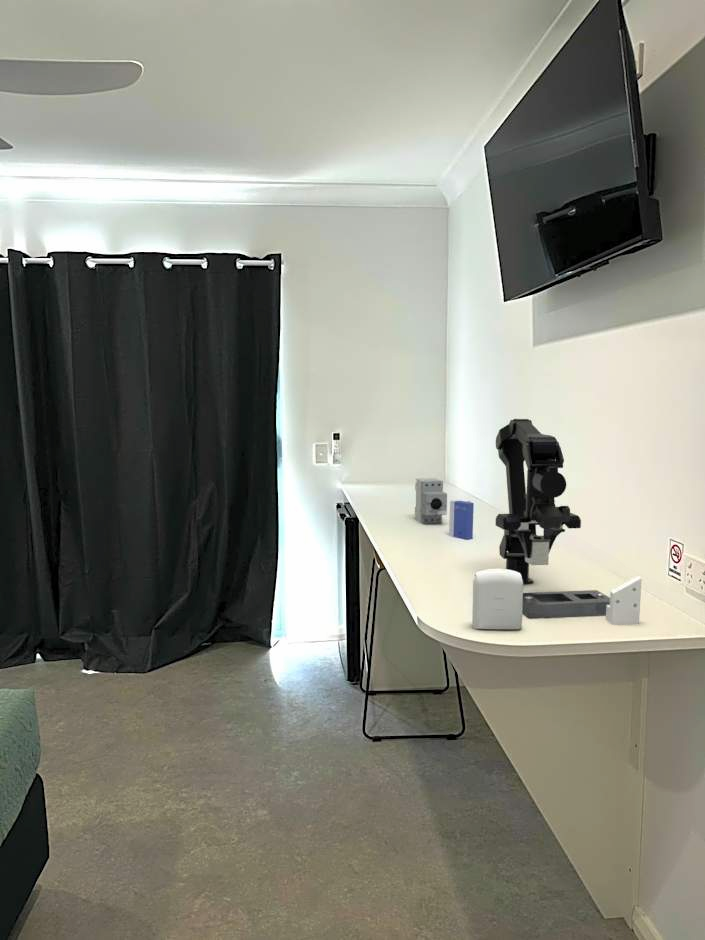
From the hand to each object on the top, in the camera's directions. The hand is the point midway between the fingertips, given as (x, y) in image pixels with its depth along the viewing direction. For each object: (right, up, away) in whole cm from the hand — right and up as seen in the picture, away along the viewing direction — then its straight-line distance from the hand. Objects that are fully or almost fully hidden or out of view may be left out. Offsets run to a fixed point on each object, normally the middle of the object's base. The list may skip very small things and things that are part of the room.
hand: (536, 557), depth 176 cm
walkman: (-8, -2, +70) cm, 70 cm away
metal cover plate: (+4, -11, -7) cm, 14 cm away
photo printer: (-13, -13, -19) cm, 26 cm away
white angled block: (+15, -12, -14) cm, 24 cm away
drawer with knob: (0, -1, 0) cm, 1 cm away
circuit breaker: (-15, +1, +93) cm, 95 cm away
